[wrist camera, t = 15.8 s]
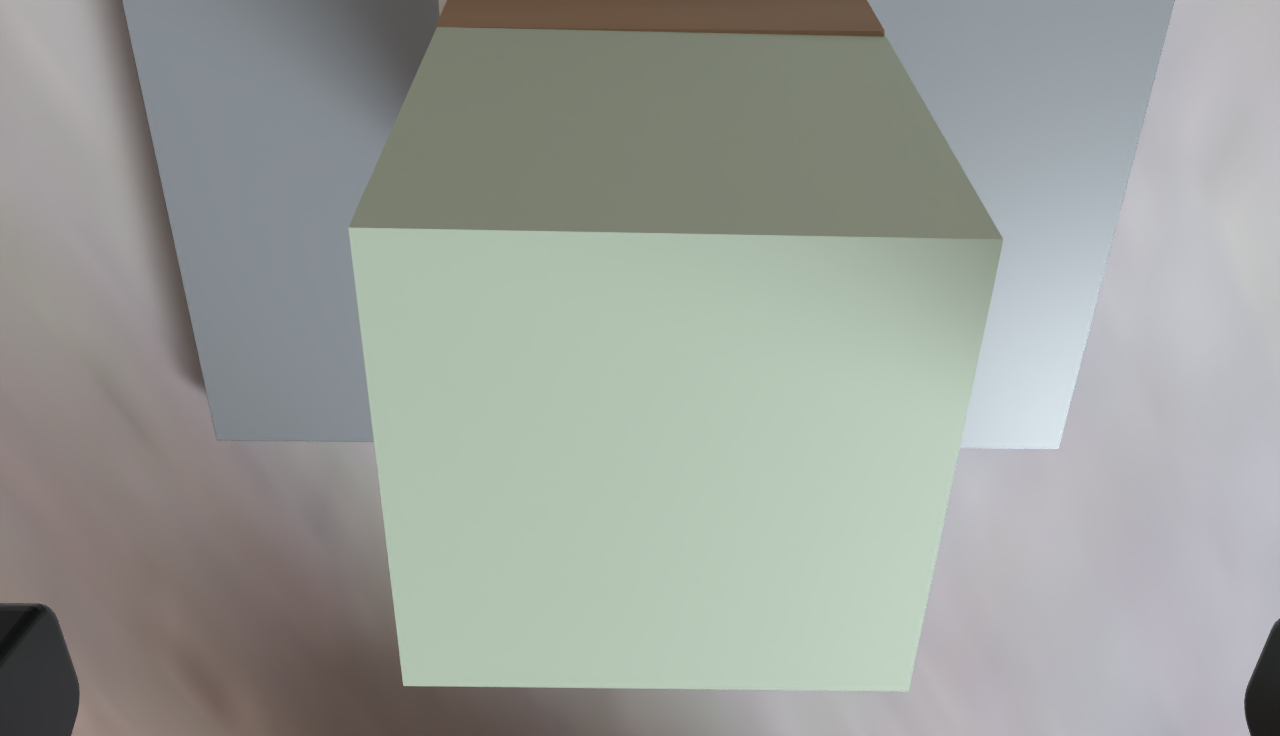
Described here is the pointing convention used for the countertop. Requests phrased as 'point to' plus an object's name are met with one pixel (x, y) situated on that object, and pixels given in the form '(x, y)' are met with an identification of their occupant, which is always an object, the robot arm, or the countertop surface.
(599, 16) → the walnut block
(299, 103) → the plate
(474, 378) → the sage block
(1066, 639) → the countertop surface
